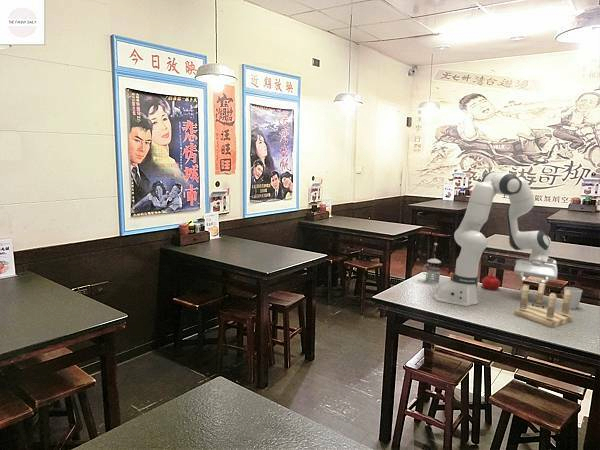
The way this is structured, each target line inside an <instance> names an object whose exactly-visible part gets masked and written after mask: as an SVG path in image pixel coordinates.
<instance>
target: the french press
mask: <svg viewBox="0 0 600 450" xmlns="http://www.w3.org/2000/svg"><path fill="white" fill-rule="evenodd" d="M433 244H434V245H435V246H434V245H433V246H434V250H436V249H437V248H436V247H437V246H438V243H437V242H434V243H433ZM426 262H427V263H426V264H424V265H423V268H422V269H423V271H422V273H423V274H424V275H425V280H424V281H423V283H424V284H425V285H428V286H433V287H434V286H436V287H437V286H441V285H442V284H441V283H440V275H441V270H440V267H438V266H434V265H435V264H442V261H441V260H439V259H437V258H436V255H434V258H430V259H427V261H426ZM430 264H434V265H433V266H431V265H430ZM426 267H427V269H426Z"/></svg>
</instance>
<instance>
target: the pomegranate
mask: <svg viewBox="0 0 600 450" xmlns="http://www.w3.org/2000/svg"><path fill="white" fill-rule="evenodd" d="M481 286H482V287H483V288H484V289H487V290H490V291H494V290H495V291H496V290H498V289H500V286H501V281H500V279H498V276H495V275H493V273H492V272H490V274H488V275H486V276H484V278H483V279H482V280H481Z"/></svg>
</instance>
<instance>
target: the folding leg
mask: <svg viewBox="0 0 600 450" xmlns="http://www.w3.org/2000/svg"><path fill="white" fill-rule="evenodd" d="M543 281H544V280H540V281H539V282H538V287H537V288H538V289H537V293H536V299H535V301H534V304H536V305H543V298H544V294H545V290H546V284H547V282H543Z"/></svg>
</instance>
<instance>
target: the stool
mask: <svg viewBox="0 0 600 450" xmlns="http://www.w3.org/2000/svg"><path fill="white" fill-rule="evenodd" d="M529 290H530V287H529V286H528V285H527V284H524V285H522V289H521V297H520V304H519V308H517V309H514V313H513V314H514V316H517V317H520V318H522V319H525V320H528V321H531V322H534V323H535V324H539V325H543V326H545V327H547V328H550V329H551V328H556V327H559V326H562V325H565V324H569V323H572V322H573V319H574V316H572V315H569V314H570V309H569V307H570V300H571V293H572V292H571V290H569V289H567V290H565V293H564V292H563V300H562V307H561V312H560V311H557V310H556V309H555V308H556V302H557V294H556V293H555V292H550V294H549V295H548V303H547V307H546V306H545V304H543V303H542V304H541V305H540V304H535V301H534V302H531V305H527V304H528V298H529V297H528V296H529V292H530V291H529Z"/></svg>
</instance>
